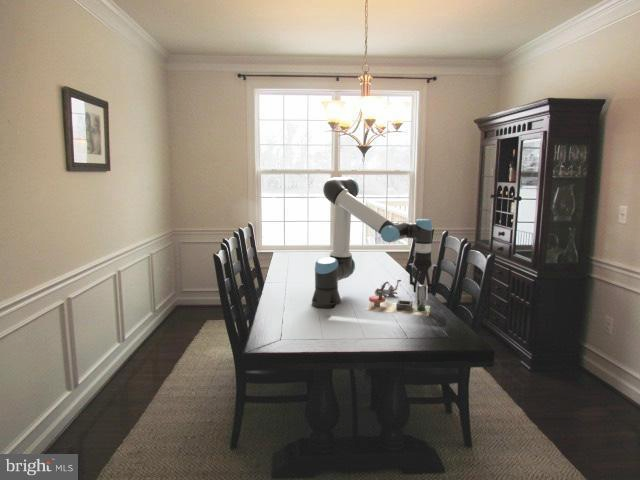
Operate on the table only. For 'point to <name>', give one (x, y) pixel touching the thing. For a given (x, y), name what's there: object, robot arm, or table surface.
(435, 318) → the table surface
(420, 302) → the peg
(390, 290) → the figurine
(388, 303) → the board
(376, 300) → the handwheel
